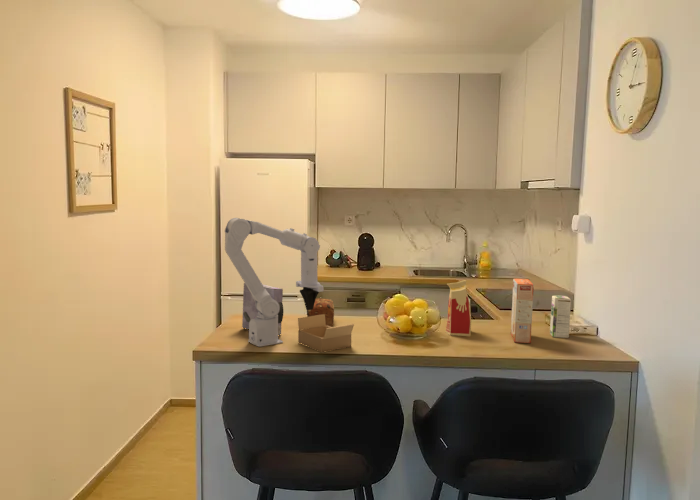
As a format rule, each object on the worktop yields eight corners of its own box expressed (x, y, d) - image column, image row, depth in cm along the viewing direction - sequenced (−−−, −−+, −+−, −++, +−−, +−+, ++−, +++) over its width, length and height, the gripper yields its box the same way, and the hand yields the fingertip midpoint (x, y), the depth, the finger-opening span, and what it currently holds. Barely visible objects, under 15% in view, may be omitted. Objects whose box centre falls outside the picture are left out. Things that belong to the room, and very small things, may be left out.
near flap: (323, 338, 176) (324, 339, 176) (326, 328, 175) (326, 328, 174) (350, 333, 183) (351, 334, 183) (353, 323, 181) (354, 324, 181)
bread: (334, 330, 207) (334, 304, 206) (305, 330, 207) (305, 304, 206) (333, 319, 226) (333, 295, 225) (307, 319, 225) (307, 295, 224)
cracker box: (531, 344, 189) (534, 284, 188) (513, 343, 191) (516, 283, 189) (527, 334, 203) (529, 278, 201) (510, 333, 204) (512, 277, 202)
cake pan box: (284, 335, 197) (284, 287, 196) (273, 338, 194) (273, 288, 192) (252, 327, 211) (252, 281, 209) (241, 329, 207) (241, 282, 205)
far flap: (325, 325, 194) (325, 325, 194) (324, 314, 194) (324, 314, 195) (299, 329, 187) (298, 329, 188) (298, 318, 187) (297, 318, 188)
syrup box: (549, 333, 205) (551, 295, 203) (565, 334, 204) (567, 295, 202) (552, 337, 199) (554, 297, 198) (569, 338, 198) (571, 298, 197)
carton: (321, 352, 176) (321, 338, 176) (298, 343, 187) (298, 330, 187) (351, 346, 184) (351, 333, 183) (326, 338, 195) (327, 325, 194)
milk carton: (468, 330, 209) (470, 278, 207) (471, 336, 199) (473, 281, 198) (444, 329, 209) (445, 277, 208) (446, 335, 200) (447, 281, 198)
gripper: (330, 272, 188) (330, 311, 190) (307, 267, 200) (307, 304, 201) (313, 274, 184) (313, 313, 185) (290, 269, 195) (291, 307, 197)
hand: (309, 309), depth 193 cm, fingers closed
